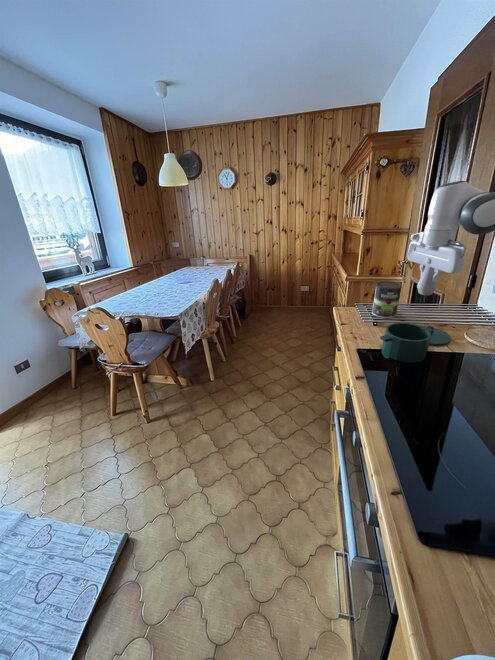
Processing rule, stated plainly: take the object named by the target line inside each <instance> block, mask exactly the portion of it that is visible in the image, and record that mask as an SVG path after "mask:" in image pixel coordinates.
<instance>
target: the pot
mask: <svg viewBox="0 0 495 660" xmlns="http://www.w3.org/2000/svg"><path fill="white" fill-rule="evenodd" d="M422 326H423V325H418V324H415V323H410V322H393V323H389V324H388V325H386V327H385V329H384V335H380V338H379V339H380V340H381V341H382V346H381V355H382V357H383V358H385V359H393V360H394V361H398V362H403V363H420V362H422V361H424V360H426V357H427V355H428V354H427V353H428V351H429V347H430V344H429V343H430V339H431V333H433V332H434V330H432V329H430V328H429V327H428V328H423V327H422Z"/></svg>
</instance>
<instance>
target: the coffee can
mask: <svg viewBox="0 0 495 660" xmlns="http://www.w3.org/2000/svg"><path fill="white" fill-rule="evenodd" d="M402 288H403V285H402V284H401V283H399V282H395V281H388V280H385V281H383V280H382V281H378V282H376V284H375V292H374V299H373V303H372V304H373V305H372V310H371V314H372V315H373V316H374V317H376V318H380V319H393V318H395V317H396V316H397V311H398V306H399V301H400V296H401V291H402Z"/></svg>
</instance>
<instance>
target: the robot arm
mask: <svg viewBox="0 0 495 660" xmlns="http://www.w3.org/2000/svg"><path fill="white" fill-rule="evenodd" d="M460 226H462V229H463V230H464V231H465V232H466V233H469V234H472V235H476V236H477V235H479V236H480V235H481V236H482V235H486V234H490V233H493V232H494V231H495V191H492V192H489V191H485V190H483V189H480V188H478V187H476V186H474V185H471V184H470V183H469V182H468V181H466V180H458V181H451V182H447V183H443V184H442V185H441V184H440V186H438V187H437V188H436V189H435V191H433V194H432V197H431V199H430V204H429V207H428V212H427V221H426V224H425V227H424V230H423V231H421V232H416V233H412V234H411V236H410V241H411V242H410V243H409V245H408V249H407V254H406V257H407V260H408V261H409V262H412V263H415V264H419V270H420V278H421V276H422V274H423V272H424V270H425V267H426V266H428V267H431V268H435V272H436V273H435V274H434V275H433V276H432V279H431V281H433V282H436V281H437V282H438V281H439V278H440V276H441V275H442V274H443V273H448V274H459V273H461V272H462V271H463V270H464V266H465V262H466V261H465V260H466V252H467V247H466V245H465V244H464V242H462V241H457V240H455V239H456V236H457V232H458V229H459V227H460ZM426 258H430V259H431V264H427V263H426Z"/></svg>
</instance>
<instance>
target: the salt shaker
mask: <svg viewBox="0 0 495 660" xmlns="http://www.w3.org/2000/svg"><path fill="white" fill-rule="evenodd" d="M426 263H427V264H431V259H430V258H426ZM435 273H436V272H435V268H431V267H428V266H426V267H425V270H424V272H423V274H422V276H421V275H420V276H421V277H420V278H419V281H418V283H417V285H416V288H417V292H418V294H419V295H422V296H431V295H433V293H434V292H435V291H436V290H437V288H438V286H437V285H438V281H436V282H433V281H431V279H432V276H433V275H434V274H435Z"/></svg>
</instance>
